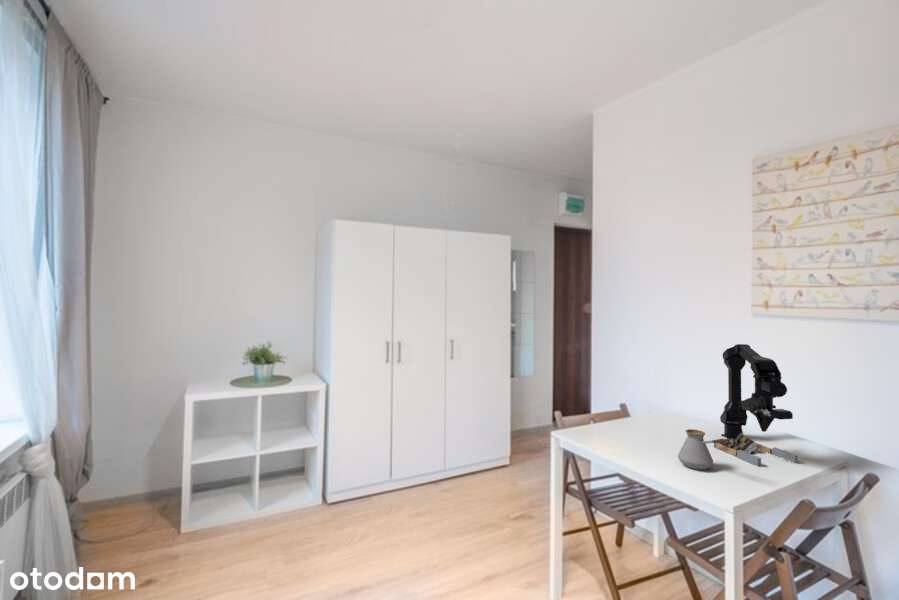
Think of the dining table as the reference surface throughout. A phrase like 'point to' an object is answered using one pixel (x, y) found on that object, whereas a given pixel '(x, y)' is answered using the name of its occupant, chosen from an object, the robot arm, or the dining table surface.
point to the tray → (733, 452)
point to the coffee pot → (697, 450)
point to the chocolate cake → (743, 444)
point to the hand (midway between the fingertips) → (763, 431)
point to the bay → (757, 460)
